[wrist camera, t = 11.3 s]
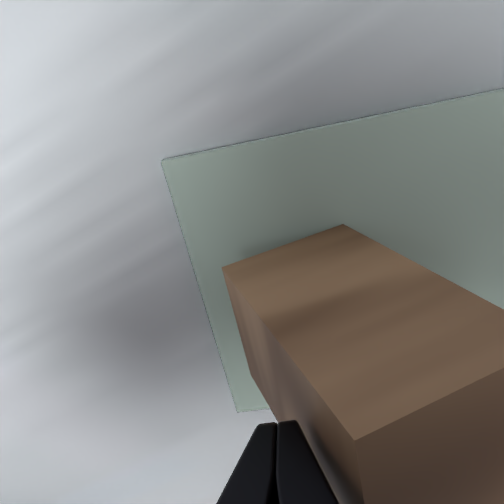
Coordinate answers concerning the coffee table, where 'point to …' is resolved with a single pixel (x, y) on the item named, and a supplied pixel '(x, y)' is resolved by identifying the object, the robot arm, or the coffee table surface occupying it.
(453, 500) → the walnut block
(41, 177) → the coffee table surface
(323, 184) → the pale green flat panel
